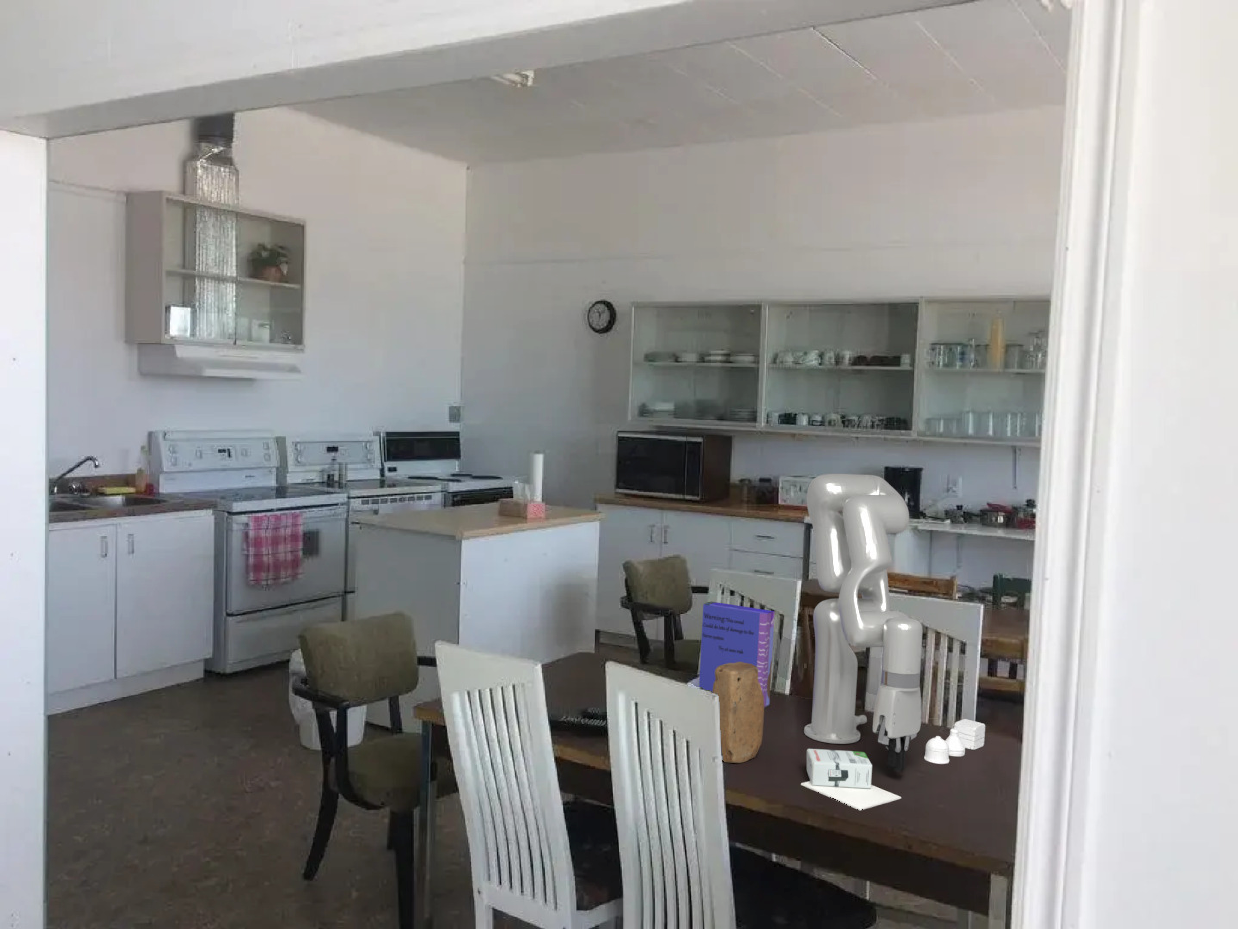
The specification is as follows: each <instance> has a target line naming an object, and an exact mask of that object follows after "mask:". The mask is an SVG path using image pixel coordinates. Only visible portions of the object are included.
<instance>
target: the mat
mask: <svg viewBox="0 0 1238 929" xmlns="http://www.w3.org/2000/svg"><path fill="white" fill-rule="evenodd" d="M800 786H803V787H805V788H807V789H809V790H811V791H815V792H817V793H818V792H819V794H821V795H823V796H826V797H828V798H830V797H831V798H830V799H832V798H834V799H836V800H835V801H837V800H838V801H837V802H839V801H840V802H839V803H842V804H844V803H845V804H844V805H846V804H847V805H846V806H848V807H850V806H851V808H853V809H856V810H857V809H858V811H863V810H866V809H867V810H868V809H871V808H873V807H877V806H880V805H883V804H888V803H891V802H893V801H894V802H895V801H897V800H900V799H902V797H901V796H899V795H898V794H894V793H893V792H890V791H887V790H884V789H882V788H879V787H877V786H875V785H873V784H871V789H868V788H851V787H835V786H818V785H812V784H811V781H810V780H809V781H804V782H801V783H800ZM834 799H833V800H834ZM862 809H863V810H862Z"/></svg>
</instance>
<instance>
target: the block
mask: <svg viewBox="0 0 1238 929" xmlns="http://www.w3.org/2000/svg"><path fill="white" fill-rule="evenodd" d="M712 693H717V694H718V696H719V702H720V730H721V746H722V754H723V761H724V763H730V764H731V763H732V764H733V763H735V764H741V763H745V762H748V761H749V760H752V759H753V758H756V756H757V754H758V753H759V752H758V751H759V749H760V747H761V746H762V742H763V735H764V734H763V733H764V718H765V717H764V716H765V708H764V697H763V694H762V690H761V686H760V683H759V682H758V668H757V667H756V666H754V665H753V664H749V663H744V662H736V663H727V664H723V665H720V666H718V667H717V668H716V670H715V681H714V684H713V691H712ZM723 761H722V762H723Z"/></svg>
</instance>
